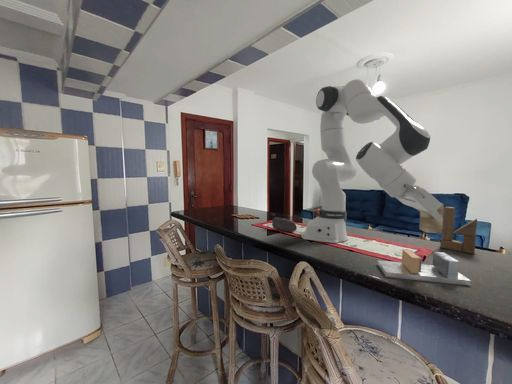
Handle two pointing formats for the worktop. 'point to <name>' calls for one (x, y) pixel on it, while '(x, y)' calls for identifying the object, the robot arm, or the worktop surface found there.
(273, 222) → the perforated stone tool
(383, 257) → the worktop surface
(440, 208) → the beech block
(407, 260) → the block
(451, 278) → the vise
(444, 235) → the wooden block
